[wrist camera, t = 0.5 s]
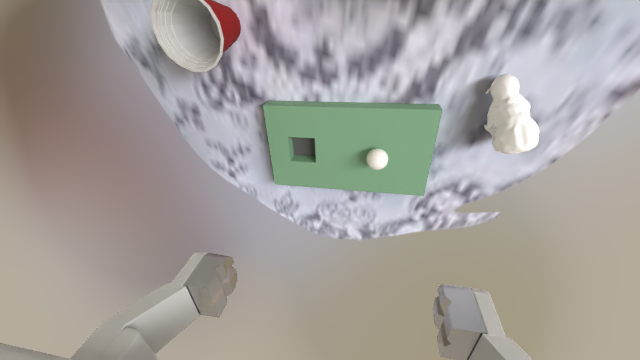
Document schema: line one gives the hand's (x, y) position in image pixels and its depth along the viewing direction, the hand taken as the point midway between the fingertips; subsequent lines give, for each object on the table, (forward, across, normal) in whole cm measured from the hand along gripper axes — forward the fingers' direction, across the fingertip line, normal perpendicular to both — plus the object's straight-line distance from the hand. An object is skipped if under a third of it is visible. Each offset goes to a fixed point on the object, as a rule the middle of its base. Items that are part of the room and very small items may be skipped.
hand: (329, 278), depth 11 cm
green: (+44, +3, +15) cm, 47 cm away
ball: (+39, -3, +15) cm, 42 cm away
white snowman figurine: (+44, -23, +6) cm, 50 cm away
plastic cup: (+44, +26, -7) cm, 51 cm away
